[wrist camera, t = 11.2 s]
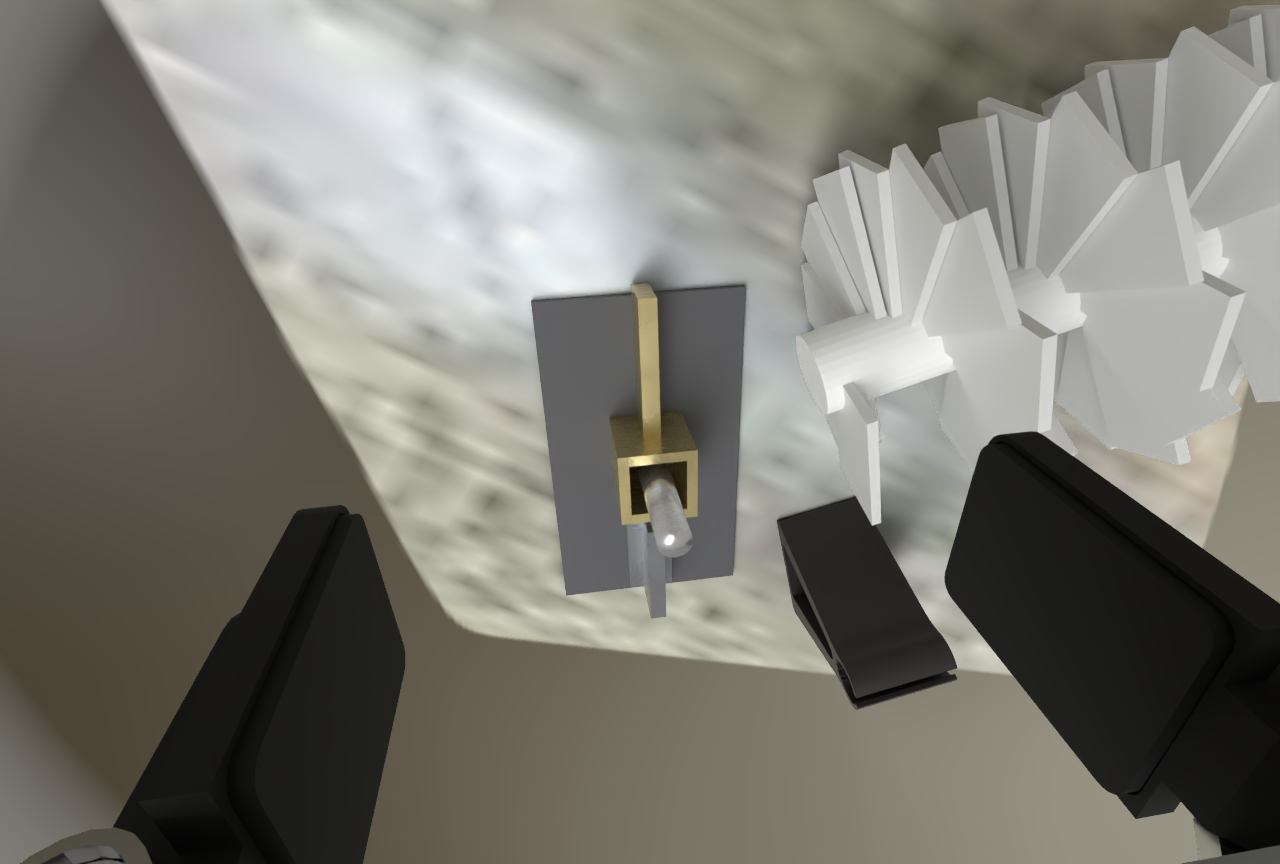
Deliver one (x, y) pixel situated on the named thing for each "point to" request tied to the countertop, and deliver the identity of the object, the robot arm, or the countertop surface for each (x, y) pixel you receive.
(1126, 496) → the robot arm
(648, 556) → the fixed leaf
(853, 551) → the phone stand
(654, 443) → the loose leaf
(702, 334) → the mat
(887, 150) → the countertop surface
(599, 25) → the countertop surface
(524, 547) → the countertop surface
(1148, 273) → the spiral staircase
